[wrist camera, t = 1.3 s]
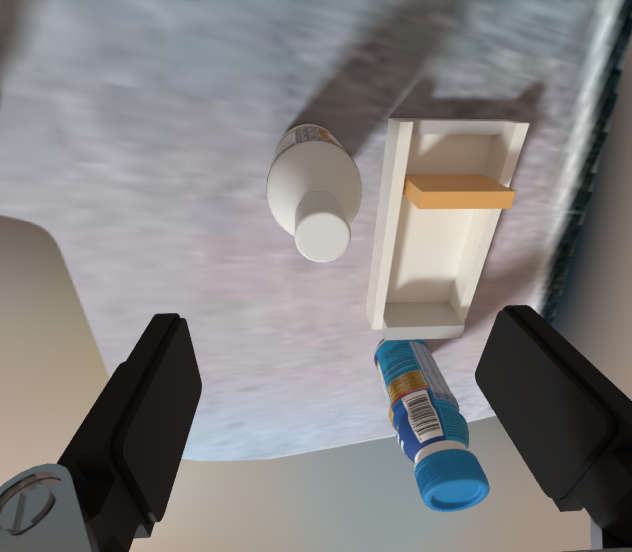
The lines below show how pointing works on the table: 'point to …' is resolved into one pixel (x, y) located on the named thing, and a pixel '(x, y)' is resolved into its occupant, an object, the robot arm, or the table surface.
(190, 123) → the table surface
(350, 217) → the bath foam
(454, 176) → the orange rectangular block
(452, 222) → the pusher lane
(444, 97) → the table surface
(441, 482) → the beverage bottle
